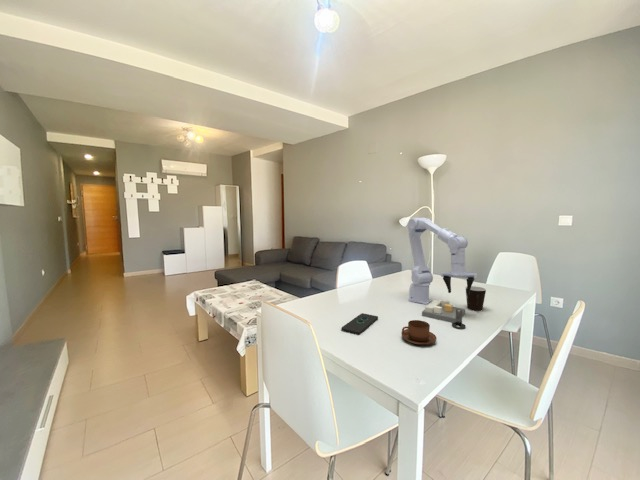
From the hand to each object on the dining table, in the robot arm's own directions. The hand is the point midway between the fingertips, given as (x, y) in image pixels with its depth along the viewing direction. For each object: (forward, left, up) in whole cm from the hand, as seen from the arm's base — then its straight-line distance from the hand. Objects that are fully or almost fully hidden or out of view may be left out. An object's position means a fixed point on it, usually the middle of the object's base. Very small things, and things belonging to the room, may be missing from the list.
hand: (458, 293), depth 125 cm
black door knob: (+4, -14, -10) cm, 18 cm away
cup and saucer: (-4, -36, -10) cm, 38 cm away
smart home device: (-28, -37, -11) cm, 48 cm away
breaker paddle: (-3, -3, -8) cm, 9 cm away
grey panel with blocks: (-5, -3, -10) cm, 12 cm away
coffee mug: (+4, +13, -10) cm, 17 cm away
